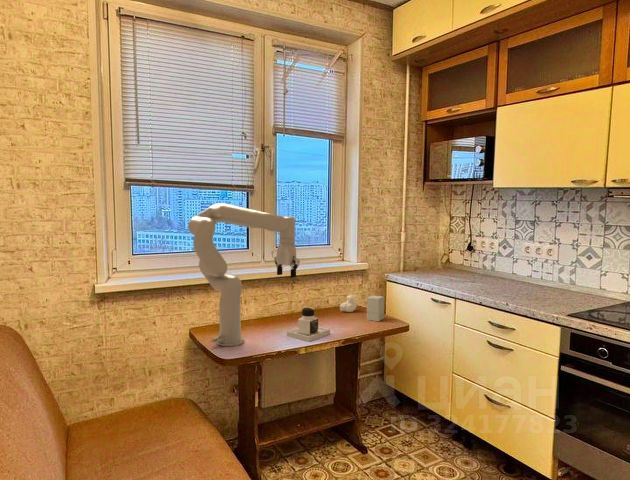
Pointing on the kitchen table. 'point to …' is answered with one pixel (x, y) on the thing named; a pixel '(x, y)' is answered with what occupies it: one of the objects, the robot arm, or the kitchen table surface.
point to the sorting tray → (308, 338)
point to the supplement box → (375, 308)
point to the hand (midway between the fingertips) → (286, 275)
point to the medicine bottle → (308, 322)
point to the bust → (349, 304)
